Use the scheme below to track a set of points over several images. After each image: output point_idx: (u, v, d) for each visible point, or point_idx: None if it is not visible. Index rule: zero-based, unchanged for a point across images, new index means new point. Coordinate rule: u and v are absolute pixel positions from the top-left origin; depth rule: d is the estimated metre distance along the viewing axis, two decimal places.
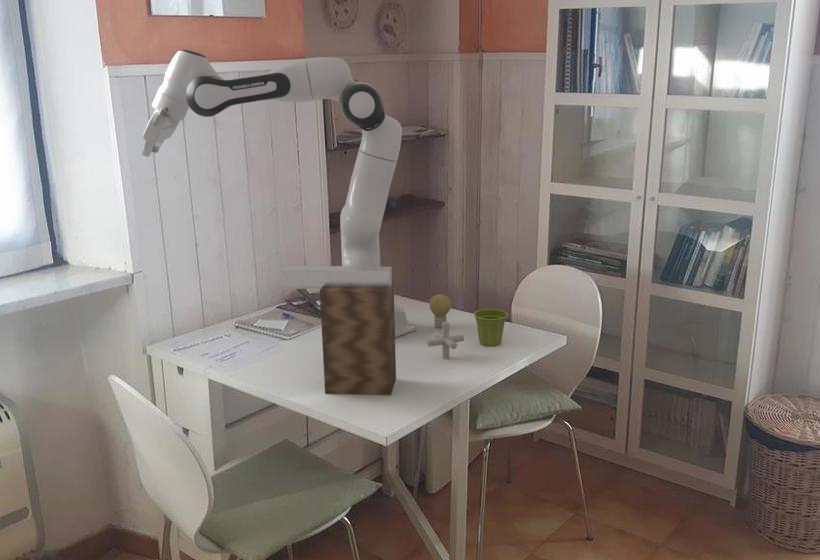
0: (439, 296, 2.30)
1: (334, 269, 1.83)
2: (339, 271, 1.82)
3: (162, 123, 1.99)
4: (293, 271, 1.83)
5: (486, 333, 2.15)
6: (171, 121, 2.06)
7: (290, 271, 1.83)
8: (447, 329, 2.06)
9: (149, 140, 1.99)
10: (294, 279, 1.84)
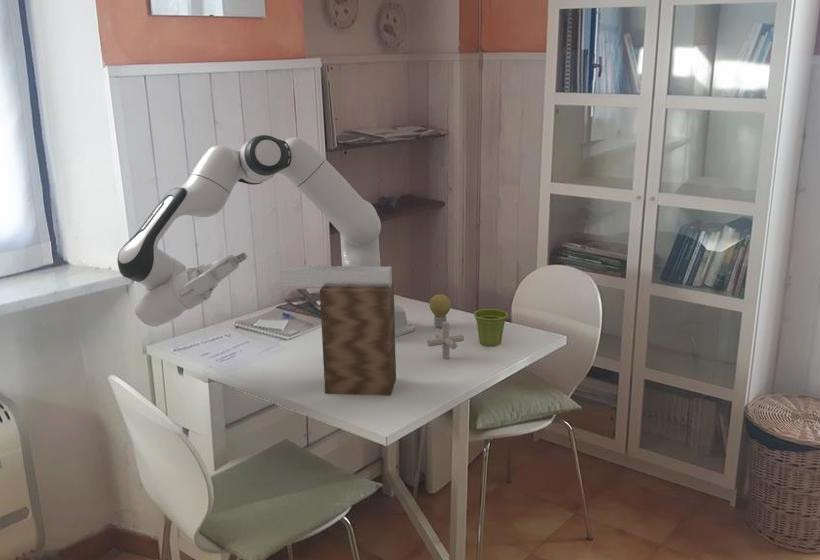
0: (439, 296, 2.30)
1: (334, 269, 1.83)
2: (339, 271, 1.82)
3: (186, 285, 1.79)
4: (293, 271, 1.83)
5: (486, 333, 2.15)
6: (194, 276, 1.86)
7: (290, 271, 1.83)
8: (447, 329, 2.06)
9: (206, 279, 1.78)
10: (294, 279, 1.84)
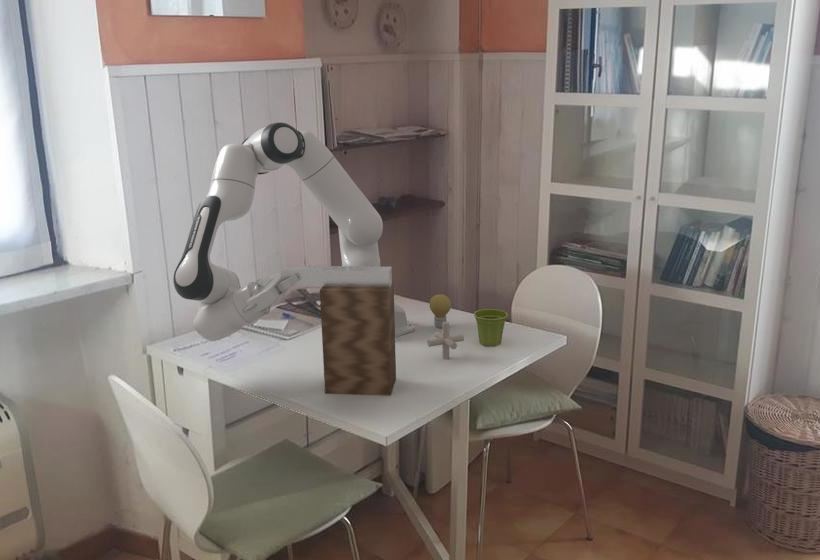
0: (439, 296, 2.30)
1: (334, 269, 1.83)
2: (339, 271, 1.82)
3: (249, 301, 1.78)
4: (293, 271, 1.83)
5: (486, 333, 2.15)
6: (255, 290, 1.85)
7: (290, 271, 1.83)
8: (447, 329, 2.06)
9: (270, 294, 1.77)
10: None
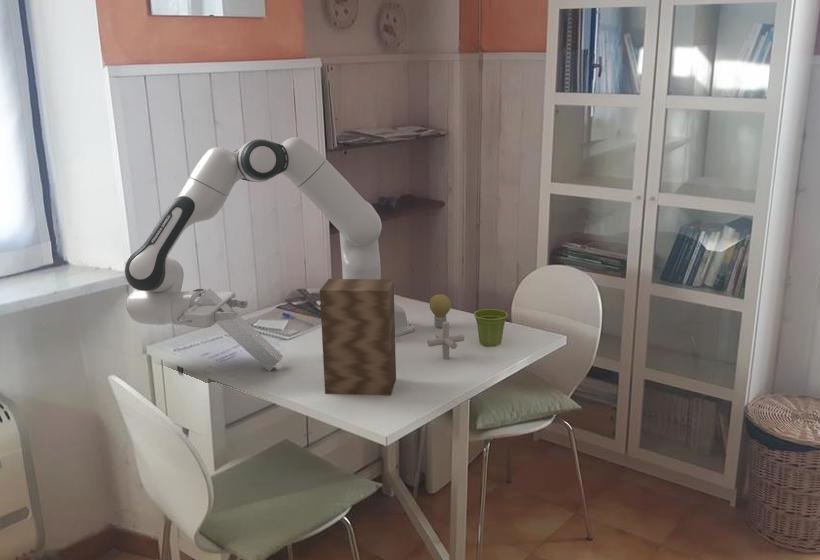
0: (439, 296, 2.30)
1: (242, 326, 2.00)
2: (244, 331, 1.99)
3: (187, 314, 1.92)
4: (212, 302, 1.98)
5: (486, 333, 2.15)
6: (196, 303, 1.99)
7: (210, 300, 1.98)
8: (447, 329, 2.06)
9: (208, 320, 1.91)
10: None
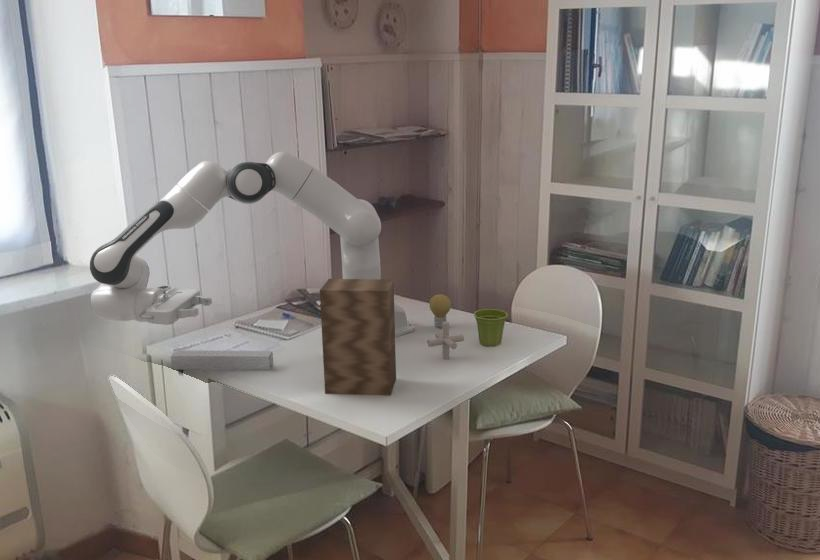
0: (439, 296, 2.30)
1: (220, 355, 2.03)
2: (224, 357, 2.02)
3: (149, 311, 1.93)
4: (183, 357, 2.03)
5: (486, 333, 2.15)
6: (159, 300, 2.00)
7: (180, 357, 2.03)
8: (447, 329, 2.06)
9: (169, 317, 1.92)
10: (183, 363, 2.04)
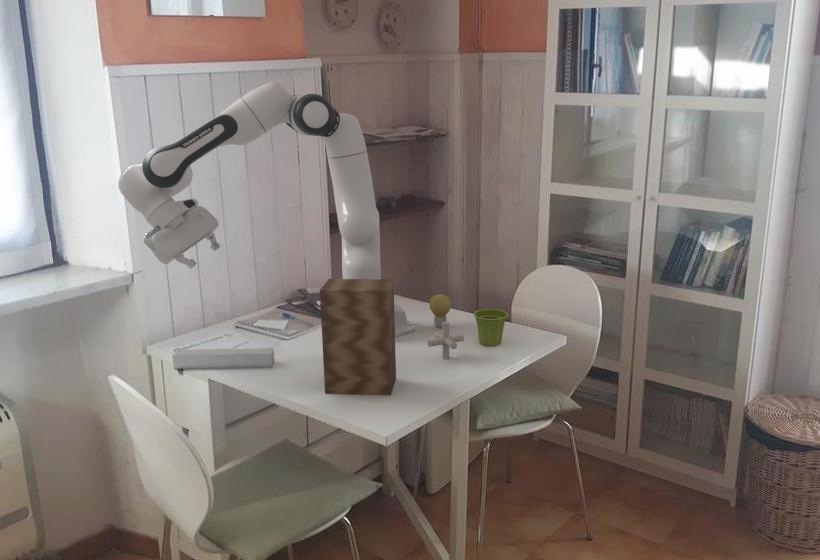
0: (439, 296, 2.30)
1: (222, 353, 2.05)
2: (226, 355, 2.04)
3: (154, 242, 1.94)
4: (184, 356, 2.04)
5: (486, 333, 2.15)
6: (173, 226, 1.99)
7: (181, 356, 2.04)
8: (447, 329, 2.06)
9: (166, 261, 1.95)
10: (185, 363, 2.04)
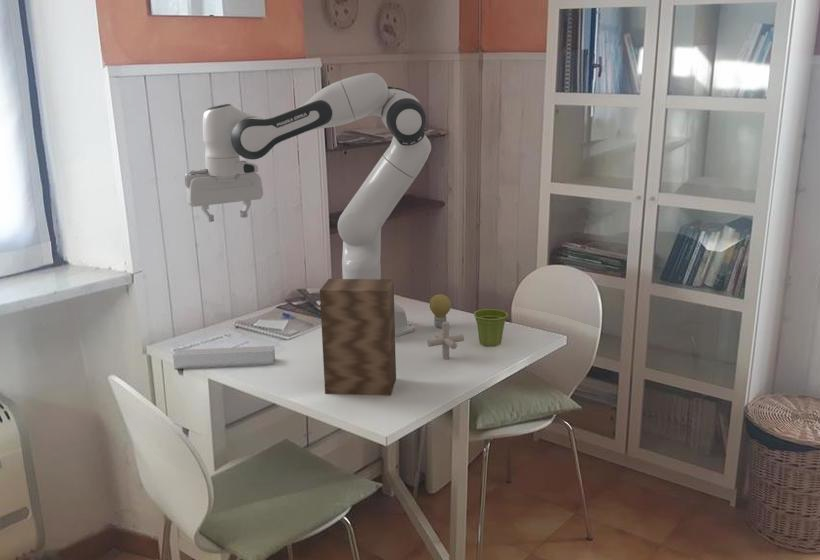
0: (439, 296, 2.30)
1: (223, 352, 2.05)
2: (227, 353, 2.05)
3: (191, 184, 1.99)
4: (185, 356, 2.04)
5: (486, 333, 2.15)
6: (218, 180, 2.02)
7: (182, 356, 2.04)
8: (447, 329, 2.06)
9: (190, 204, 2.01)
10: (186, 362, 2.05)
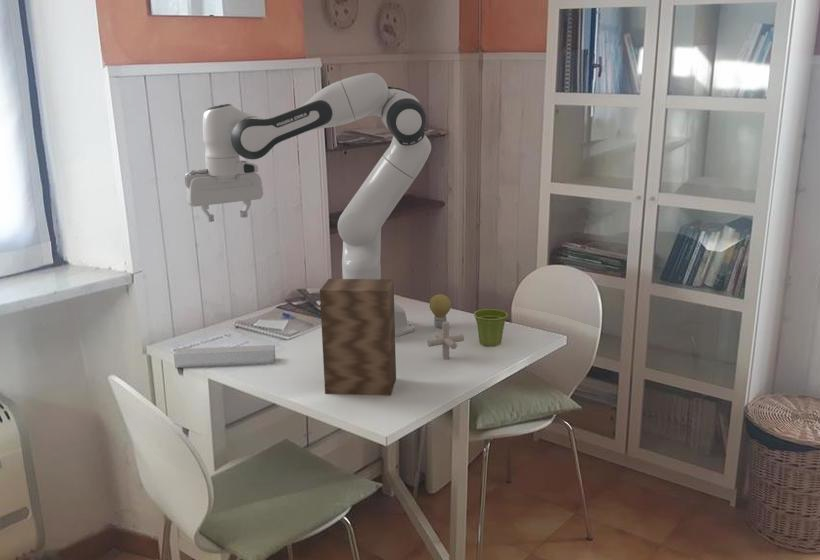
0: (439, 296, 2.30)
1: (223, 351, 2.06)
2: (228, 352, 2.05)
3: (191, 184, 1.99)
4: (186, 355, 2.05)
5: (486, 333, 2.15)
6: (218, 180, 2.02)
7: (183, 355, 2.05)
8: (447, 329, 2.06)
9: (190, 204, 2.01)
10: (186, 361, 2.05)
